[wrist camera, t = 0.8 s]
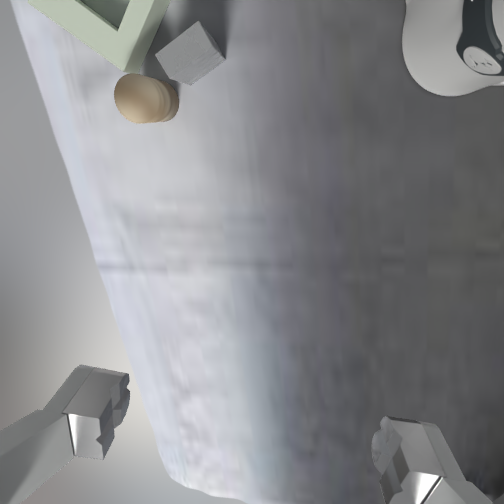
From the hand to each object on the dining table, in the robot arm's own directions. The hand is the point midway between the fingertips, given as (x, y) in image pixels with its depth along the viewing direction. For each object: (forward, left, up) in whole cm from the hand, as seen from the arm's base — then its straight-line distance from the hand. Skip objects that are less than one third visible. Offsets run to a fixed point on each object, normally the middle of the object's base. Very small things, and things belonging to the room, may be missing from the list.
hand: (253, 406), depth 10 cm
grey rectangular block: (-7, -15, -38) cm, 42 cm away
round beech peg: (0, -18, -38) cm, 42 cm away
